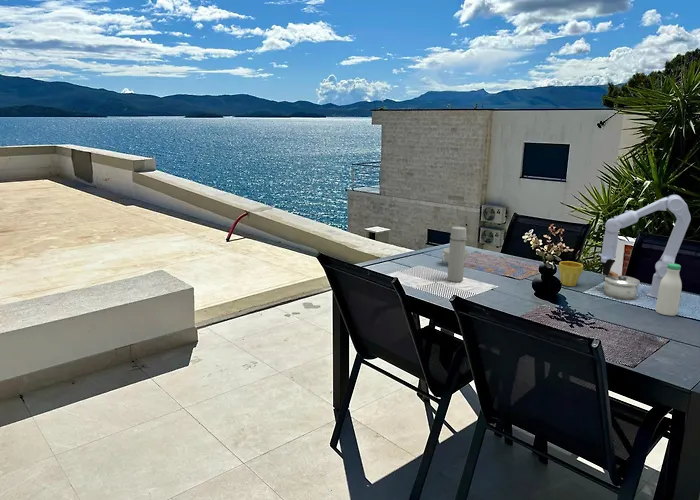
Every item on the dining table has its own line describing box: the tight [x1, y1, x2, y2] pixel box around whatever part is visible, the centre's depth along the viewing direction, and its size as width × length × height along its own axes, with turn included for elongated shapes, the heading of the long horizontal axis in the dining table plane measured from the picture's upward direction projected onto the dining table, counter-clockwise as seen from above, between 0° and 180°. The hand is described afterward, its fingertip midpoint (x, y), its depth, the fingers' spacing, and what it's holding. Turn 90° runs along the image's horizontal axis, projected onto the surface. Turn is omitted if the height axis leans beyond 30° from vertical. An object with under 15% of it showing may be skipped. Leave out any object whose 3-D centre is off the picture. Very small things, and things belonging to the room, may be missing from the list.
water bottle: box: [447, 226, 468, 283], centre depth 252 cm, size 9×8×25 cm
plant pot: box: [558, 260, 584, 287], centre depth 252 cm, size 10×10×10 cm
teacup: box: [440, 247, 469, 264], centre depth 280 cm, size 15×12×8 cm
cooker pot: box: [603, 276, 639, 301], centre depth 241 cm, size 18×13×6 cm
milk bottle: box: [655, 263, 683, 317], centre depth 215 cm, size 8×8×20 cm
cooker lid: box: [604, 270, 640, 287], centre depth 240 cm, size 19×14×2 cm
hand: (605, 275), depth 246 cm, fingers closed, pressing on cooker lid
